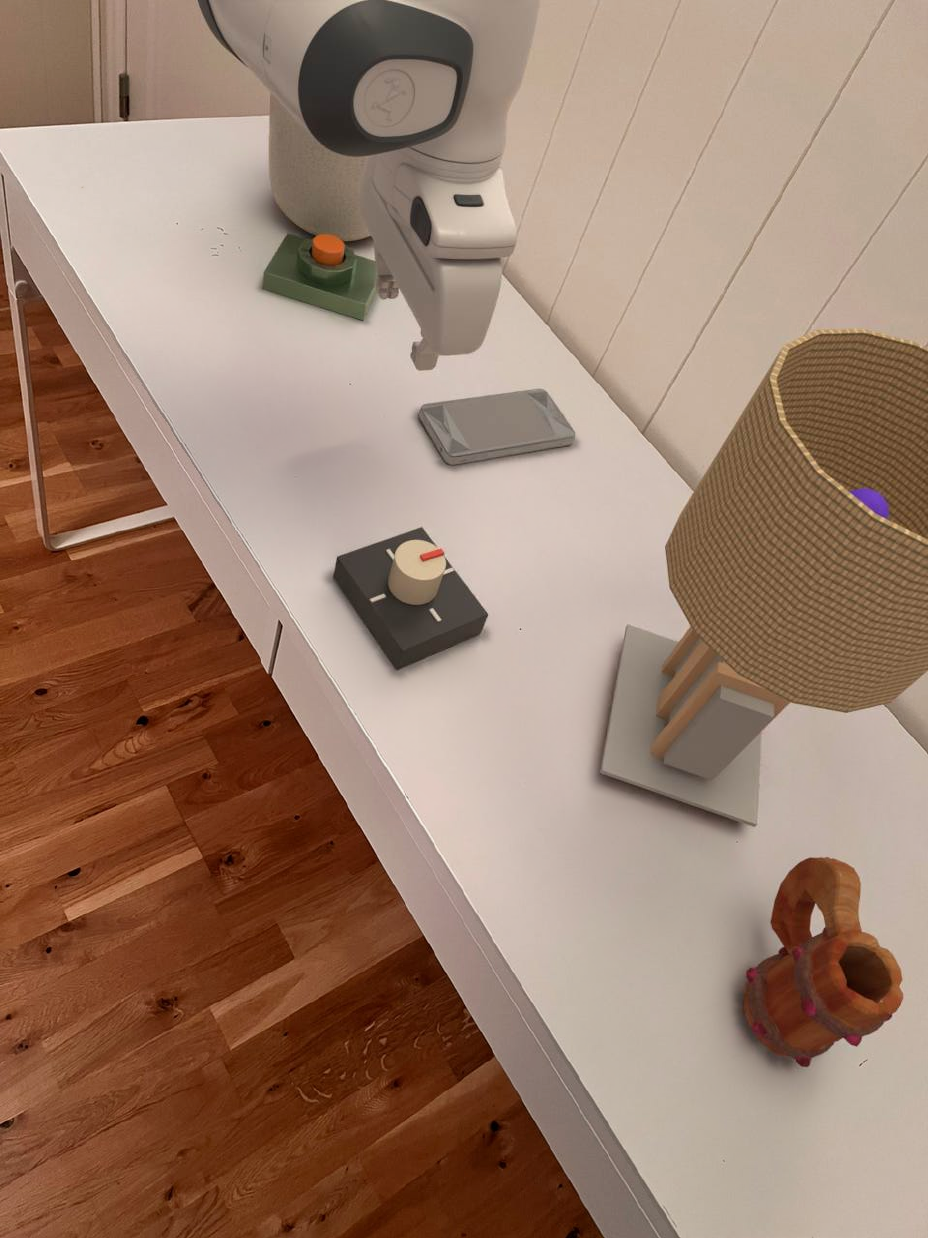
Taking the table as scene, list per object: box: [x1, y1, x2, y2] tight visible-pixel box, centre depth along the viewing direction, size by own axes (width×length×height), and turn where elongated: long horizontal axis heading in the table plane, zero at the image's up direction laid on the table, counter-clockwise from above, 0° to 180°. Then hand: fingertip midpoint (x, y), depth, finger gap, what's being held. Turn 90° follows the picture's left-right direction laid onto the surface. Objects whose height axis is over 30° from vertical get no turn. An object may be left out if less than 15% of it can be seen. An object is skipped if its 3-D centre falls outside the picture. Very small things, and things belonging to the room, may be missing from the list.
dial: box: [388, 540, 446, 605], centre depth 77 cm, size 4×4×4 cm
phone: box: [418, 388, 576, 466], centre depth 97 cm, size 8×16×1 cm, turn 116°
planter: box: [268, 91, 372, 242], centre depth 109 cm, size 17×17×15 cm
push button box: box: [262, 232, 377, 321], centre depth 105 cm, size 12×9×4 cm
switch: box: [312, 234, 346, 265], centre depth 103 cm, size 4×4×2 cm
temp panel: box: [332, 526, 489, 671], centre depth 80 cm, size 11×9×3 cm
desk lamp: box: [599, 328, 928, 828], centre depth 66 cm, size 20×20×35 cm
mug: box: [742, 856, 904, 1068], centre depth 63 cm, size 12×7×13 cm, turn 179°
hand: (403, 328), depth 77 cm, fingers open, 8 cm apart
